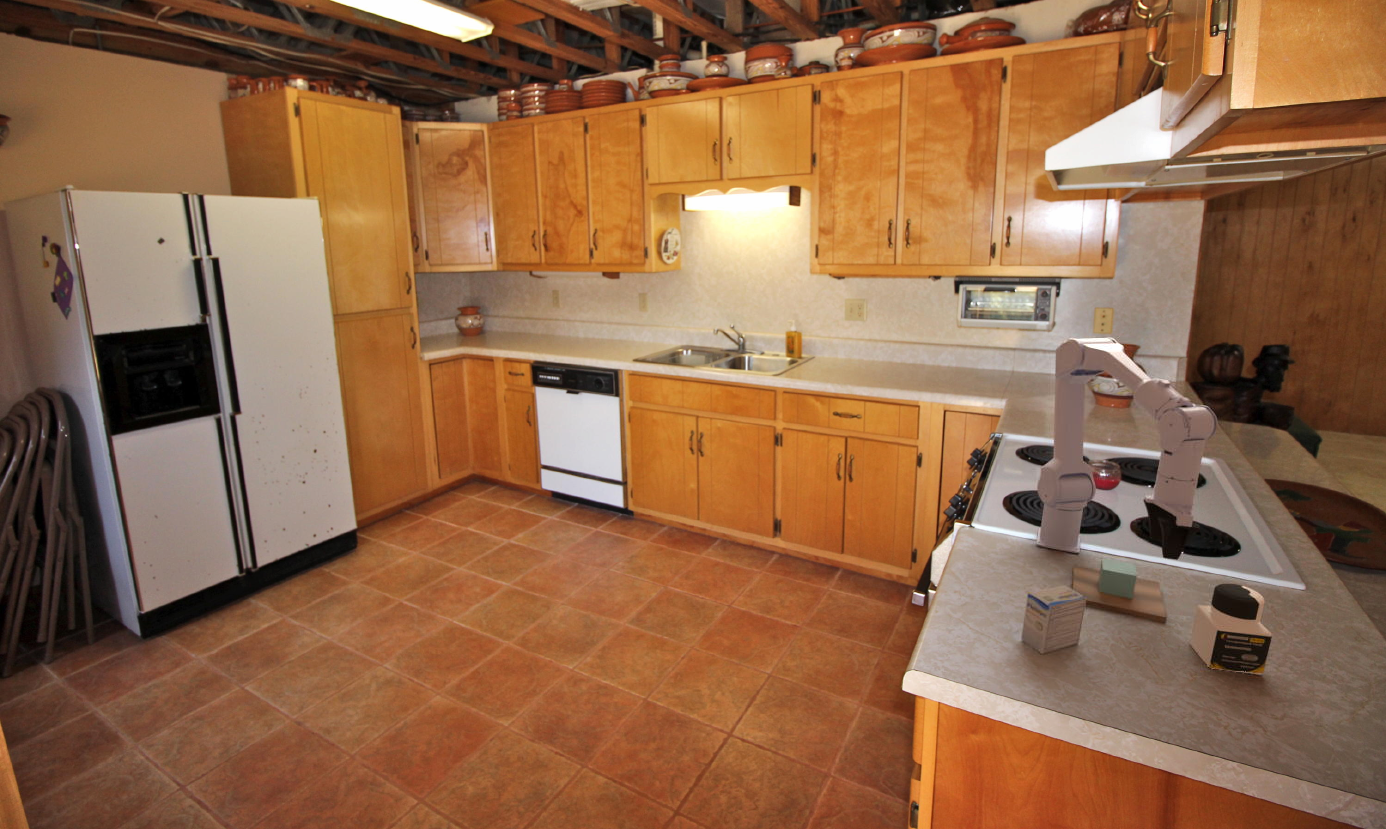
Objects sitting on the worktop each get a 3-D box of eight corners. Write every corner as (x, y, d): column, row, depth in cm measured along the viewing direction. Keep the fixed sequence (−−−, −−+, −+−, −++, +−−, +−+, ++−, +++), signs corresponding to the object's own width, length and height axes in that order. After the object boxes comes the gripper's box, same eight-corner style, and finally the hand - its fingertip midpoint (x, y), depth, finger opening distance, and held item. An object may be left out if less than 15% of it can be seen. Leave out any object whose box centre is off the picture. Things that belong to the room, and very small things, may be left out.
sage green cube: (1098, 579, 130) (1102, 557, 128) (1130, 586, 127) (1134, 563, 126) (1098, 591, 125) (1102, 569, 124) (1132, 598, 123) (1136, 575, 122)
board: (1073, 569, 135) (1073, 565, 135) (1157, 586, 129) (1158, 581, 129) (1072, 601, 124) (1072, 597, 123) (1165, 622, 117) (1166, 617, 117)
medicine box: (1056, 630, 115) (1063, 583, 113) (1079, 645, 111) (1087, 596, 109) (1020, 640, 112) (1026, 592, 110) (1042, 655, 108) (1050, 606, 106)
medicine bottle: (1208, 669, 104) (1224, 598, 101) (1188, 643, 111) (1202, 576, 108) (1263, 676, 103) (1281, 604, 100) (1239, 649, 110) (1255, 581, 106)
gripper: (1139, 460, 125) (1127, 529, 129) (1162, 486, 112) (1148, 563, 115) (1184, 464, 123) (1171, 534, 126) (1214, 492, 110) (1198, 569, 113)
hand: (1163, 548), depth 121 cm, fingers open, 7 cm apart
